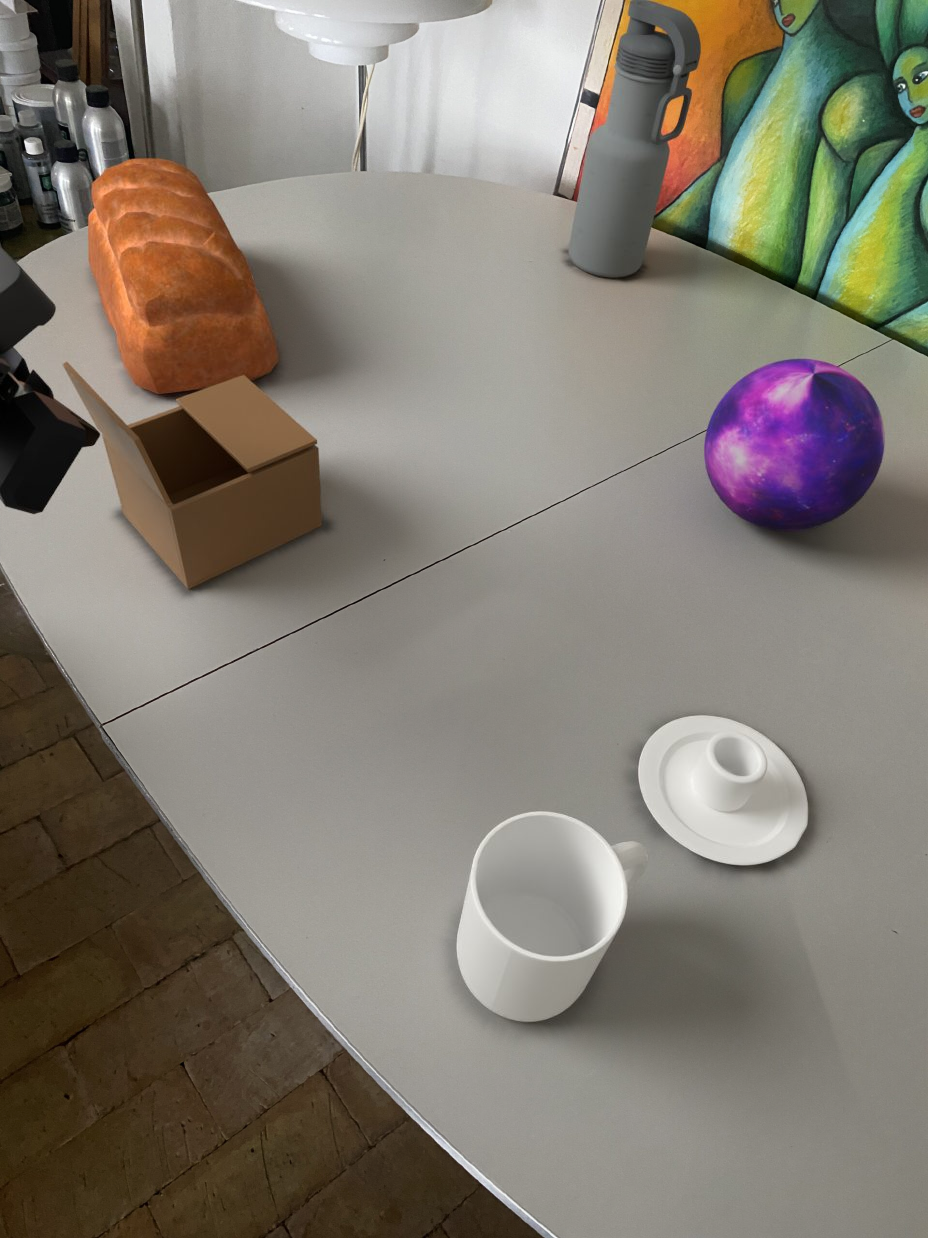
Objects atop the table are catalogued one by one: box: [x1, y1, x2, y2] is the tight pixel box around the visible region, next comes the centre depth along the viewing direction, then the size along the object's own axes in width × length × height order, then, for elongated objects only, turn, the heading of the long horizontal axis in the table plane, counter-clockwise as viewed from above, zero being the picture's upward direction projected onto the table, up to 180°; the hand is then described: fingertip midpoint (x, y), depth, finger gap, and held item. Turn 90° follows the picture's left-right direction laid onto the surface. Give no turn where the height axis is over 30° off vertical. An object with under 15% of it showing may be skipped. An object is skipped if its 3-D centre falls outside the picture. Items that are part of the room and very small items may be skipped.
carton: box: [101, 375, 323, 590], centre depth 72 cm, size 13×11×9 cm
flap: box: [61, 361, 171, 504], centre depth 63 cm, size 6×11×1 cm
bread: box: [87, 157, 280, 395], centre depth 92 cm, size 16×31×13 cm, turn 24°
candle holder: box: [637, 714, 809, 866], centre depth 60 cm, size 12×12×4 cm
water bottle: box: [568, 0, 702, 279], centre depth 103 cm, size 10×10×28 cm
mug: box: [456, 810, 649, 1023], centre depth 50 cm, size 12×8×10 cm
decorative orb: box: [703, 358, 886, 532], centre depth 78 cm, size 15×15×15 cm
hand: (95, 437), depth 62 cm, fingers closed
